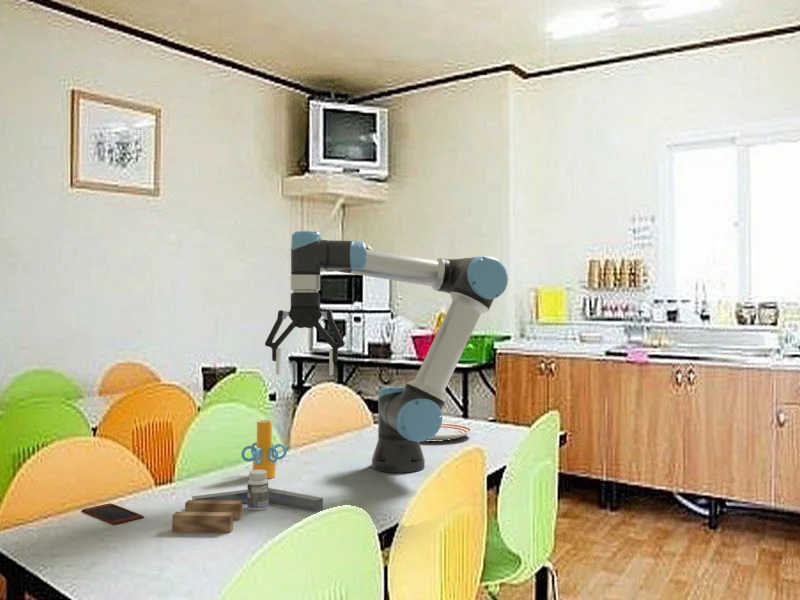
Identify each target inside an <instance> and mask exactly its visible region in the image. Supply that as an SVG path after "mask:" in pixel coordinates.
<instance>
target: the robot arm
mask: <svg viewBox="0 0 800 600" xmlns="http://www.w3.org/2000/svg"><path fill="white" fill-rule="evenodd" d="M321 270H324V271H327V272H338V273H345V274H353V275H358V276H363V277H364V276H365V277H371V278H377V279H378V278H379V279H384V280H390V281H395V282H402V283H408V284H415V285H421V286H427V287H431V288H432V289H433V290H434V291H435V292H436V291H437V292H443V293H447V294H450V297H451V304H450V305H449V307H448V309H447V312H446V314H445V316H444V318H443V320H442V322H441V324H440V326H439V329H438V331H437V332H436V334H435V337H434V339H433V341H432V342H431V345H430V346H429V350H428V351H427V353H426V356H425V358H424V360H423V362H422V364H421V366H420V368H419V369H418V372H417V374H416V376H415V378H414V379H413V380H410V381H407V382H406V384H405V385H404V386H396V387H395V386H394V387H393V386H391V387H381V388H380V389H379V390H378V398H377V401H378V405H377V406H378V409H377V410H378V411H377V412H378V413H377V414H378V417H377V418H378V419H377V420H378V425H377V428H378V429H377V430H378V431H377V432H378V436H377V437H378V438H377V441H376V442H377V443H376V445H375V449H374V451H373V455H372V457H371V468H373V469H374V470H376V471H380V472H384V473H385V472H386V473H397V474H398V473H401V474H402V473H412V472H418V471H421V470H423V469H424V468H425V457H424V453H423V450H422V446H421V444H420V443H422V442H427V441H426V440H429V439H431V438H432V437H433V436H435V435H436V434H437V432H438V431H439V429H440V427H441V425H442V423H443V414H442V410H443V408H444V406H445V405H446V402H447V400H446V398H445V391H446V388H447V386H448V385H449V382H450V380H451V378H452V376H453V374H454V371H455V369H456V367H457V365H458V363H459V361H460V359H461V357H462V355H463V352H464V351H465V348H466V346H467V345H468V341H469V340H470V338H471V335H472V333H473V332H474V329H475V327H476V325H477V323H478V321H479V318H480V316H481V315H483V314H485V313H488V312H489V310H490V308H491V306H492V304H493V302H494V300H495V299H498V298H499V297H500V296H501V295H503V293H504V292H505V291H506V289H507V286H508V282H509V281H508V280H509V277H508V273H507V270H506V267H505V266H504V264H503V263H502V262H501V260H498V259H497V258H495V257H493V256H488V255H479V256H475V257H464V258H442V257H438V258H437V259H436V260H433V259H428V258H421V257H416V256H409V255H404V254H403V255H402V254H398V253H391V252H386V251H381V250H380V251H379V250H373V249H367V245H366V243H365V242H364V241H360V240H358V241H357V240H327V239H322V236H321V233H320V232H319V231H311V230H301V231H299V230H297V231H295V232H293V233H292V234H291V246H290V290H291V291H293V292H291V294H290V310H289V311H286V310H283V309H281V310H278V311H277V317H276V318H277V319H276V321H275V323H274V325H273V327H272V329H271V331H270V333H269V334H268V336H267V339H266V340H265V342H264V345H265V347H268V348H271V352H272V353H271V355H272V356H271V360H272V362H275V374H276V375H277V376H280V375H281V374H282V348H279V346H281V344H282V343H283V342H284V340H285V339H287V337H288V336H289V335H290V334H291V332H293V330H294V329H295V328H298V329H304V328H306V329H312V328H315V329H316V330H317V331H318V332H319V334H320V335H321V336H322V337H323V338H324V340H325V341H326V342H327V344H328V345H329V346H330V347H331V348H330V349H328V351H329V356H328V358H329V362H328V363H329V367H328V368H329V374H328V375H329V376H332V375H334V363H336V362H338V358H339V357H338V356H339V353H338V351H339V349H340V348H343V347H345V345H346V344H345V341H344V338H343V336H342V335H341V333H340V330H339V329H338V327H337V324H336V322H335V320H334V315H333V311H332V310H327V311H322V310H321V293H320V292H319V291H321ZM287 317H289V319H290V320H291V323H290V324H289V325H288V326H287V327H286V329H285V330H284V331H283V332H282V333H281V334H280V335H279V337H277V339H276V340H275V341H274V339H275V337H276V335H277V333H278V332H279V330H280V328H281V326H282V324H283V322H284V320H286V319H287ZM322 317H323V318H324V320H327V322H328V325H329V326H330V328H331V330H332V333H333V334H334V337H335V339H336V341H337V342H336V341H335V340H334V339H333V338H332V337H331V336H330V334H329V333H328V332H327V330H326V329H325V328H324V327H323V325H322V324H321V322H319V320H320V319H321V318H322ZM273 341H274V342H273Z"/></svg>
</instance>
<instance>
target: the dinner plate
mask: <svg viewBox="0 0 800 600" xmlns="http://www.w3.org/2000/svg"><path fill="white" fill-rule="evenodd" d="M440 428H451V429H455V430H458V431H459V432H460V434H454V435H435V436H433V437H432V438H431V439H429V440H448V439H455V438H457V439H459V438H461V437H465V436H467V435H468V434H471V432H472V431H473V429H472V428H471V427H470V426H466V425H464V424H463V425H462V424H457V423H456V424H454V423H445V422H444V423H443V422H442V425H441V427H440ZM455 440H456V439H455Z"/></svg>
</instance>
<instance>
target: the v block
mask: <svg viewBox="0 0 800 600" xmlns="http://www.w3.org/2000/svg"><path fill="white" fill-rule="evenodd" d="M191 500H227V501H242V505H243V504H248V488H247V489H239V490H233V491H231V490H230V491H226V492H225V491H224V492H217V493H210V494H209V493H208V494H200V495H193V496H191ZM268 503H272V504H276V505H282V506H287V507H293V508H297V509H302V510H307V511H313V512H318V511H320V510H323V509H324V508H323V507H324V498H323V497H321V496H315V495H309V494H305V493H304V494H303V493H298V492H294V491H293V492H292V491H287V490H282V489H276V488H271V487H268Z"/></svg>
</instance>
